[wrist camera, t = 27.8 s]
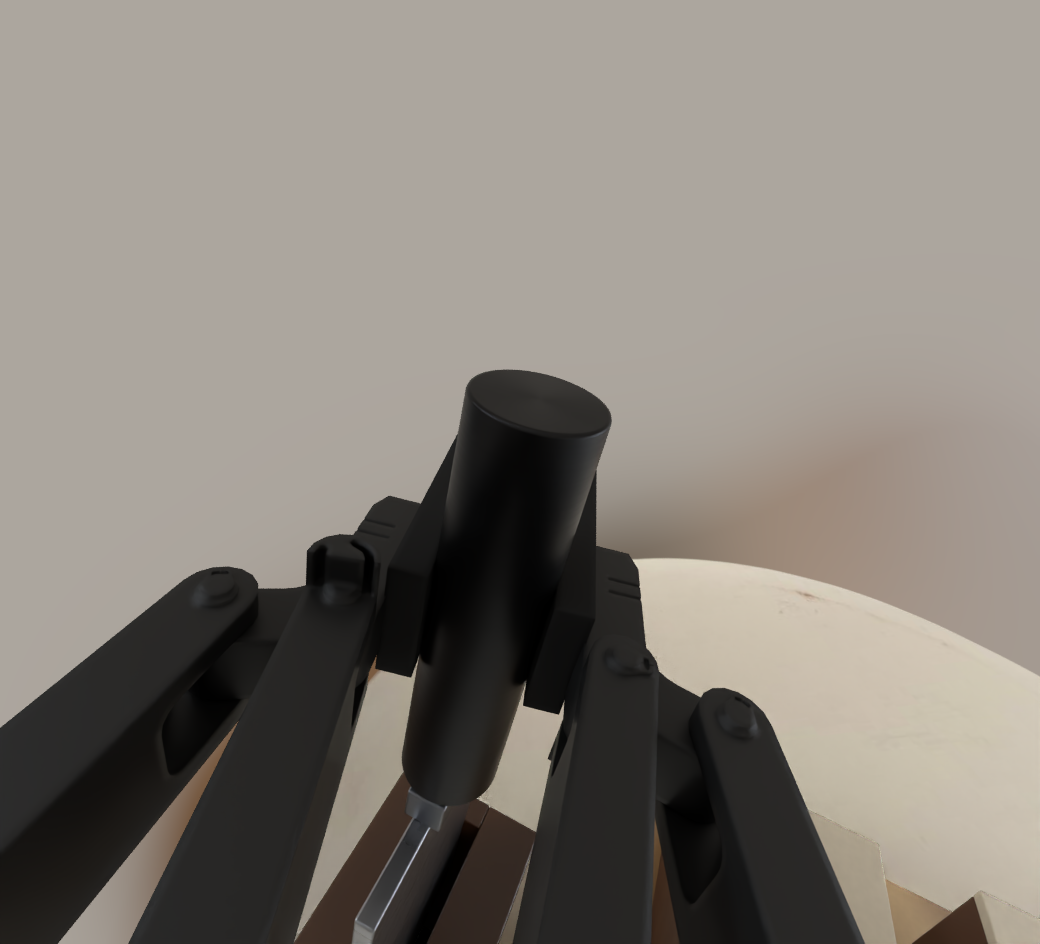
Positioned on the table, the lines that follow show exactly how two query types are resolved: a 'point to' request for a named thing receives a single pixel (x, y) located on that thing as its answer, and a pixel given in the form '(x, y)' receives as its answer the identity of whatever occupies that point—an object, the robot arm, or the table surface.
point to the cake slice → (984, 924)
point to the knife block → (465, 892)
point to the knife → (484, 616)
